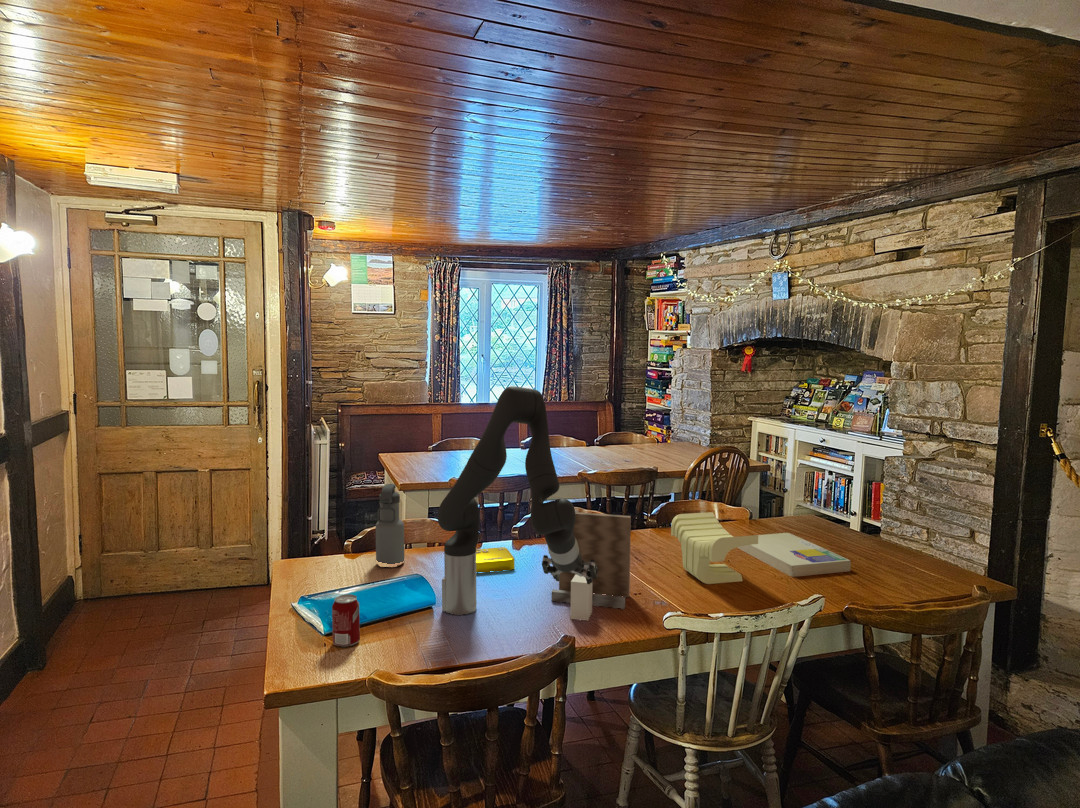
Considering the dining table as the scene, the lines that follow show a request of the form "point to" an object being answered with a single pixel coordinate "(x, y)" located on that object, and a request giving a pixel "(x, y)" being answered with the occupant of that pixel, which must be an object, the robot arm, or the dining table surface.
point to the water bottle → (389, 527)
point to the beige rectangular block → (581, 598)
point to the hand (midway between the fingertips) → (573, 579)
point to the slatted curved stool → (707, 546)
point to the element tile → (494, 559)
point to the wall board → (602, 558)
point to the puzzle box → (796, 555)
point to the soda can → (345, 620)
